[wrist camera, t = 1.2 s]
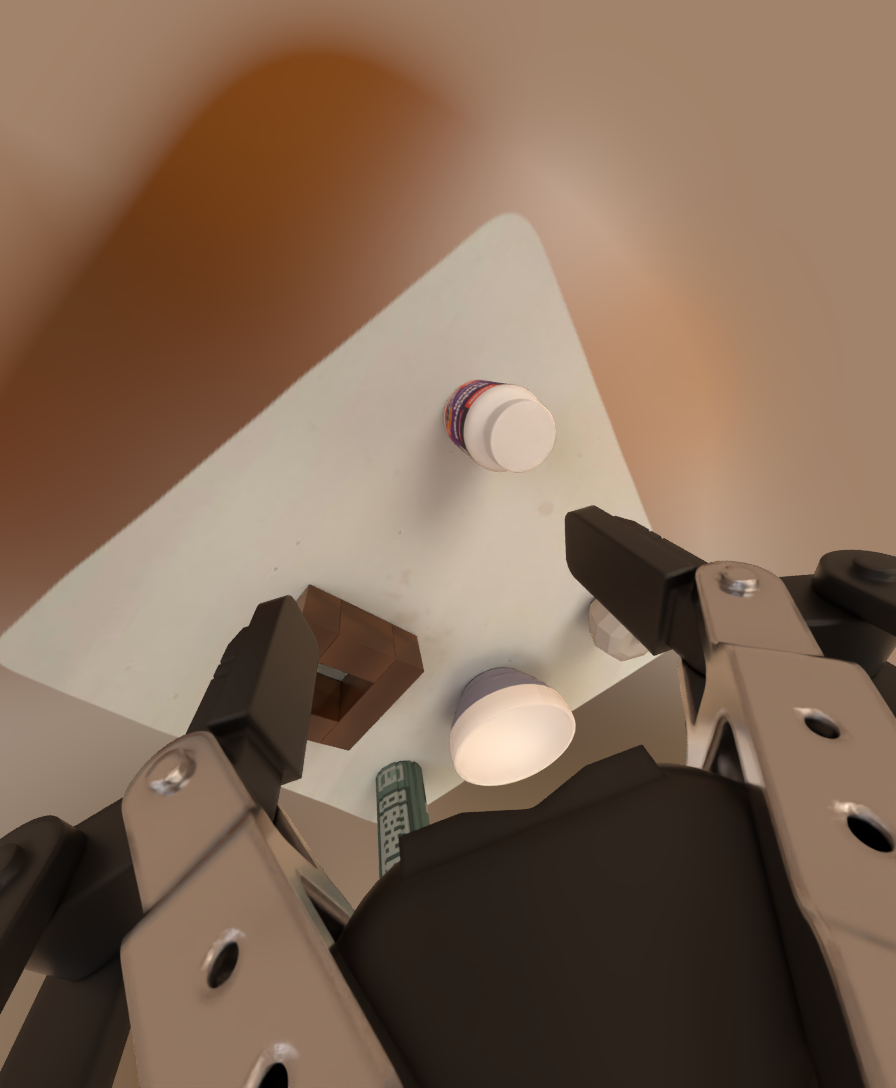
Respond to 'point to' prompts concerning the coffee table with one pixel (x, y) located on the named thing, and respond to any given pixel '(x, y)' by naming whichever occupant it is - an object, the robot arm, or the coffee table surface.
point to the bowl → (508, 728)
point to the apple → (612, 634)
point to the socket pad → (355, 667)
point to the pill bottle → (499, 425)
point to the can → (398, 808)
